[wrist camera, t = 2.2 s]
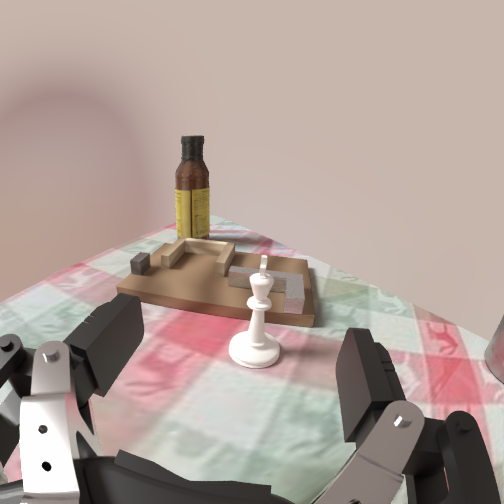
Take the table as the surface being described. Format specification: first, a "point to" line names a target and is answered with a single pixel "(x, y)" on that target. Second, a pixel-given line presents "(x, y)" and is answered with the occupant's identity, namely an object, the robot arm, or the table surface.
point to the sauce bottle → (192, 191)
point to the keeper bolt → (274, 285)
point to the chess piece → (256, 326)
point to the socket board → (211, 281)
